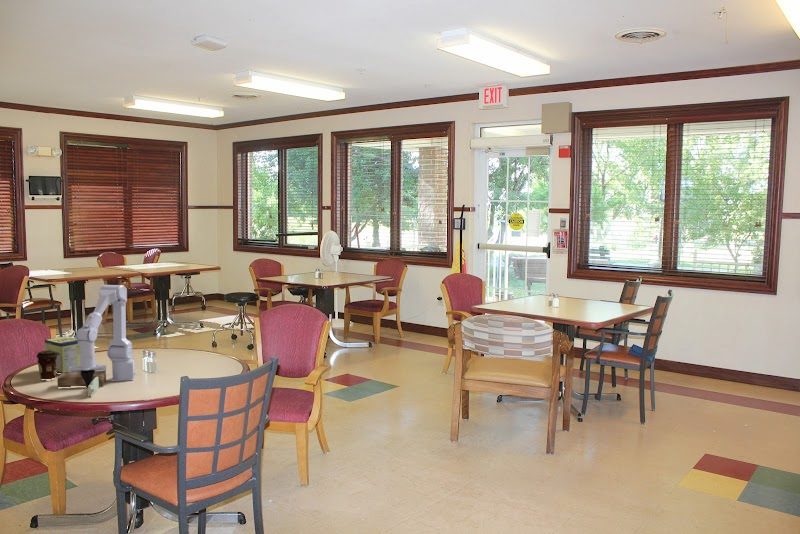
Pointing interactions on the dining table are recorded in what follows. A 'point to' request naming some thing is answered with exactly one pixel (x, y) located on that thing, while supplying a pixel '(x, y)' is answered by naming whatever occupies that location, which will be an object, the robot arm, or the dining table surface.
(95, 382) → the pale green bar
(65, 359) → the protein box
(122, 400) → the dining table surface
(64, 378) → the walnut box
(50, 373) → the coffee cup
